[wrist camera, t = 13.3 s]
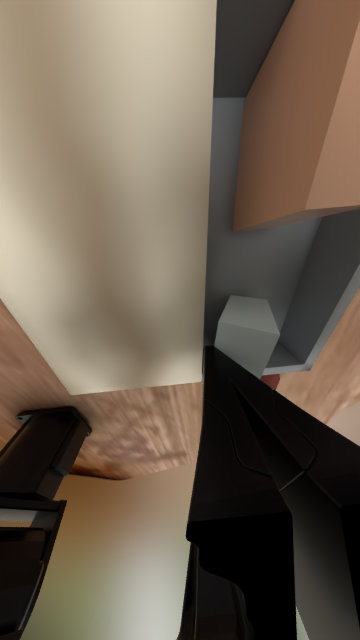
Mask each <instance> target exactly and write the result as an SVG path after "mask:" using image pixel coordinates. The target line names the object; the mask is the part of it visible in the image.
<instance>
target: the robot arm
mask: <svg viewBox="0 0 360 640" xmlns="http://www.w3.org/2000/svg"><path fill="white" fill-rule="evenodd" d="M15 419H16V420H18V421H19V422H20V423H21V424H22V426H21V428H20V429H19V430H18V431H17V432H16V434H15V435H14V436H13V437H12V438H11V439H10V441H9V442H8V443H7V444H6V445H5V447H4V448H3V449H2V450H1V451H0V521H23V522H32V524H31V525H30V527H0V640H20V638H21V635H22V633H23V631H24V629H25V627H26V625H27V622H28V620H29V618H30V616H31V613H32V611H33V608H34V606H35V603H36V600H37V598H38V595H39V592H40V589H41V586H42V583H43V580H44V576H45V573H46V570H47V566H48V563H49V560H50V556H51V553H52V550H53V546H54V543H55V540H56V536H57V533H58V530H59V527H60V523H61V520H62V517H63V513H64V510H65V507H66V503H67V500H60V501H54V500H53V499H54V497H55V495H56V492H57V490H58V488H59V486H60V484H61V482H62V480H63V478H64V476H67V475H68V474H69V473H70V471H71V468H72V466H73V464H74V462H75V459H76V457H77V455H78V453H79V450H80V448H81V446H82V444H83V441H84V439H85V437H87V436H90V434H91V432H92V431H91V429H90V428H89V427H88V426H87V424H86V423H85V422H84V420H83V419H82V418H81V416H80V415H79V414H78V413H77V411H76V410H75V409H74V408H71V407H68V408H58V409H49V410H40V411H30V412H21V413H19V414H18V415H17V416H16V417H15ZM186 539H187V540H188V541H189V542H191V545H190V553H189V561H188V570H187V577H186V587H185V594H184V602H183V610H182V619H181V627H180V632H179V635H178V637H177V640H297V629H296V606H297V609H298V612H299V614H300V617H301V619H302V622H303V624H304V627H305V630H306V632H307V635H308V638H309V640H360V446H358V445H357V444H355V443H354V442H352V441H350V440H349V439H347V438H346V437H344V436H343V435H341V434H339V433H338V432H336V431H335V430H333V429H332V428H330V427H329V426H327V425H325V424H324V423H322V422H321V421H319V420H318V419H316V418H315V417H313V416H312V415H310V414H309V413H307V412H305V411H304V410H302V409H301V408H299V407H298V406H297V405H295V404H294V403H292V402H291V401H289V400H288V399H287V398H285V397H284V396H282V395H281V394H280V393H278V392H277V391H275V390H273V389H272V388H271V387H270V386H268V385H267V384H266V383H264V382H263V381H262V380H260V379H259V378H257V377H256V376H255V375H253V374H252V373H251V372H249V371H248V370H246V369H245V368H244V367H242V366H241V365H240V364H238V363H237V362H235V361H234V360H233V359H231V358H230V357H229V356H227V355H226V354H224V353H223V352H222V351H220V350H219V349H218V348H216V347H215V346H213V345H206V346H204V367H203V398H202V428H201V436H200V444H199V450H198V457H197V463H196V471H195V478H194V484H193V490H192V497H191V503H190V510H189V516H188V522H187V531H186Z"/></svg>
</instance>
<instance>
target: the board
mask: <svg viewBox="0 0 360 640" xmlns="http://www.w3.org/2000/svg"><path fill="white" fill-rule="evenodd" d="M216 7H217V0H0V299H1V300H2V301H3V303H4V304H5V305H6V307H7V308H8V310H9V311H10V312H11V314H12V315H13V316H14V318H15V319H16V321H17V322H18V323H19V325H20V326H21V327H22V329H23V330H24V332H25V333H26V334H27V336H28V337H29V338H30V340H31V341H32V343H33V344H34V345H35V347H36V348H37V349H38V351H39V352H40V354H41V355H42V356H43V358H44V359H45V360H46V362H47V363H48V364H49V366H50V367H51V369H52V370H53V371H54V373H55V374H56V375H57V377H58V378H59V380H60V381H61V382H62V384H63V385H64V386H65V388H66V389H67V391H68V392H69V393H70V395H78V394H87V393H97V392H107V391H116V390H126V389H136V388H145V387H155V386H165V385H174V384H184V383H194V382H201V381H202V356H203V331H204V306H205V281H206V256H207V231H208V206H209V182H210V157H211V132H212V107H213V82H214V57H215V32H216Z"/></svg>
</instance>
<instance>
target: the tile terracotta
mask: <svg viewBox="0 0 360 640" xmlns="http://www.w3.org/2000/svg"><path fill="white" fill-rule="evenodd" d="M359 208H360V0H295V1H294V3H293V5H292V7H291V9H290V11H289V13H288V15H287V17H286V19H285V21H284V23H283V25H282V27H281V29H280V31H279V33H278V35H277V37H276V39H275V41H274V43H273V45H272V47H271V48H270V50H269V52H268V54H267V56H266V58H265V60H264V62H263V64H262V66H261V68H260V70H259V72H258V74H257V76H256V78H255V80H254V82H253V84H252V86H251V88H250V90H249V92H248V94H247V96H246V98H245V100H244V108H243V119H242V130H241V141H240V153H239V164H238V175H237V187H236V198H235V209H234V220H233V232H237V231H248V230H259V229H270V228H275V227H279V226H284V225H288V224H292V223H297V222H301V221H306V220H310V219H315V218H319V217H324V216H328V215H332V214H337V213H341V212H346V211H350V210H355V209H359Z"/></svg>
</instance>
